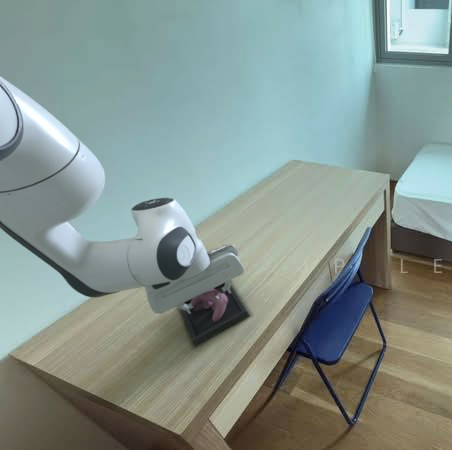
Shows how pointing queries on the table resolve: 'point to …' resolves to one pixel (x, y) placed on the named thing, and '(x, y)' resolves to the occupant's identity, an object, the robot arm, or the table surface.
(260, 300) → the table surface
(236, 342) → the table surface
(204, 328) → the black rectangular tray
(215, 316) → the video game controller
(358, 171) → the table surface
